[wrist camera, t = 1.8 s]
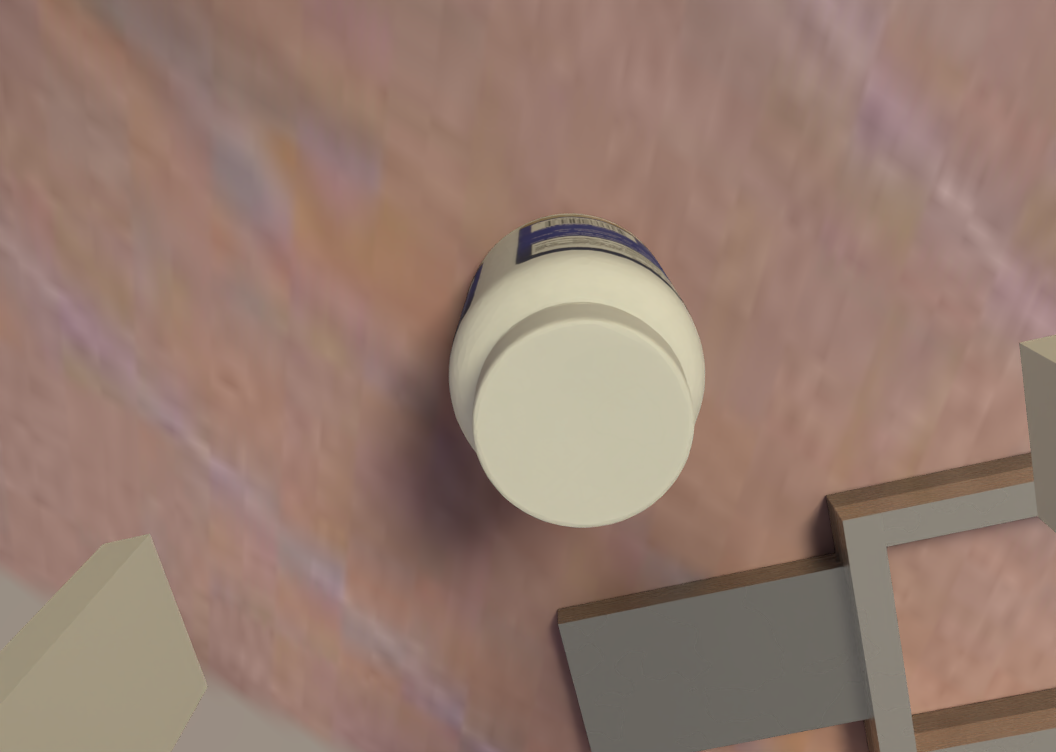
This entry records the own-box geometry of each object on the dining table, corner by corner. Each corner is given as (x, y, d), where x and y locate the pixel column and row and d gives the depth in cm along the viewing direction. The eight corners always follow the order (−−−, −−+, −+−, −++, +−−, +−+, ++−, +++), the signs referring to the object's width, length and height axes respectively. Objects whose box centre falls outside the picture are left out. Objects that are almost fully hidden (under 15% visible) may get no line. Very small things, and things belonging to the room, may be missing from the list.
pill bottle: (569, 444, 27) (579, 617, 19) (427, 313, 26) (370, 432, 18) (713, 308, 26) (793, 427, 18) (570, 165, 25) (582, 218, 16)
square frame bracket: (607, 800, 31) (610, 838, 29) (543, 554, 28) (542, 582, 27) (1451, 643, 28) (1502, 676, 27) (1461, 362, 26) (1518, 381, 24)
